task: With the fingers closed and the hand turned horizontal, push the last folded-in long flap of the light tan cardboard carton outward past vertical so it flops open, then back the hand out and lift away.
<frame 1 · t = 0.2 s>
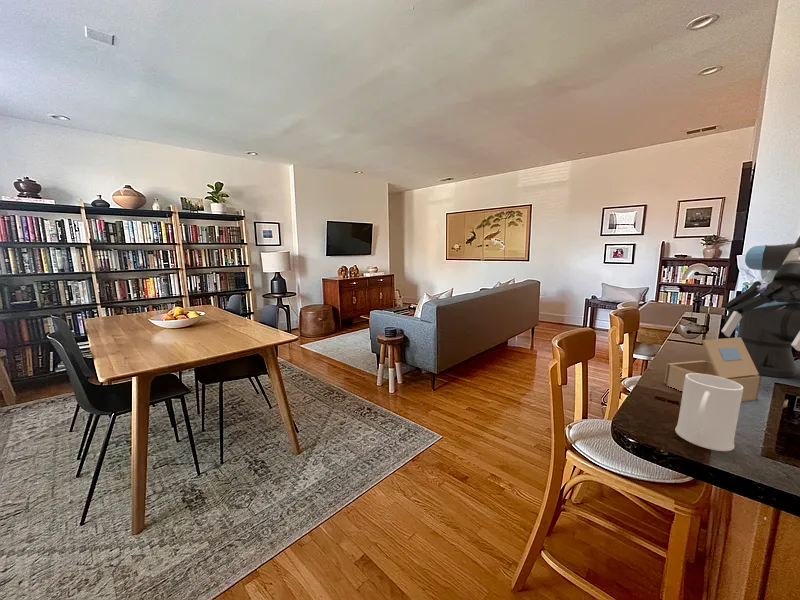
hand: (757, 340, 81), 15 cm above the counter, tool tilted 35°, fingers open, 13 cm apart
flap: (730, 357, 81), point 11 cm above the counter, hinge at 30.0°
mug: (700, 441, 63), on the counter
carton: (708, 391, 85), on the counter
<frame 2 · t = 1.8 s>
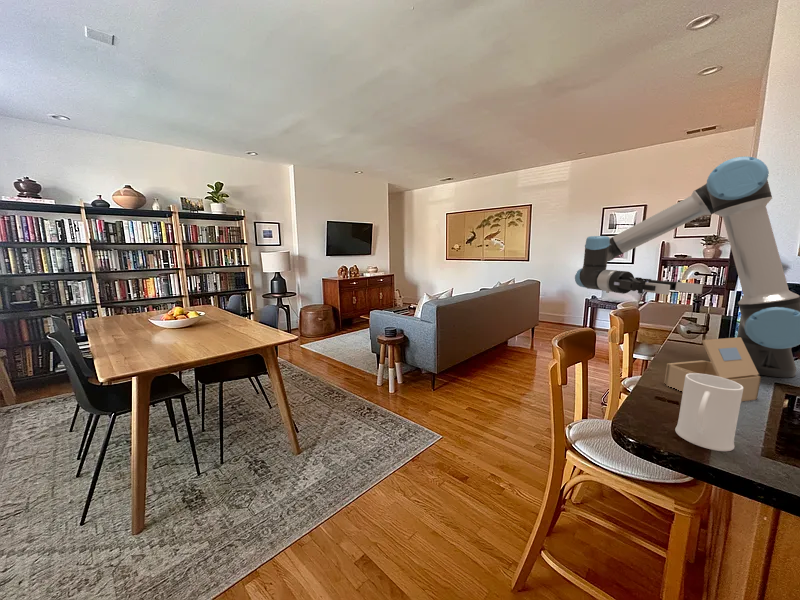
hand: (685, 289, 90), 26 cm above the counter, tool horizontal, fingers open, 11 cm apart
nothing on the counter moved.
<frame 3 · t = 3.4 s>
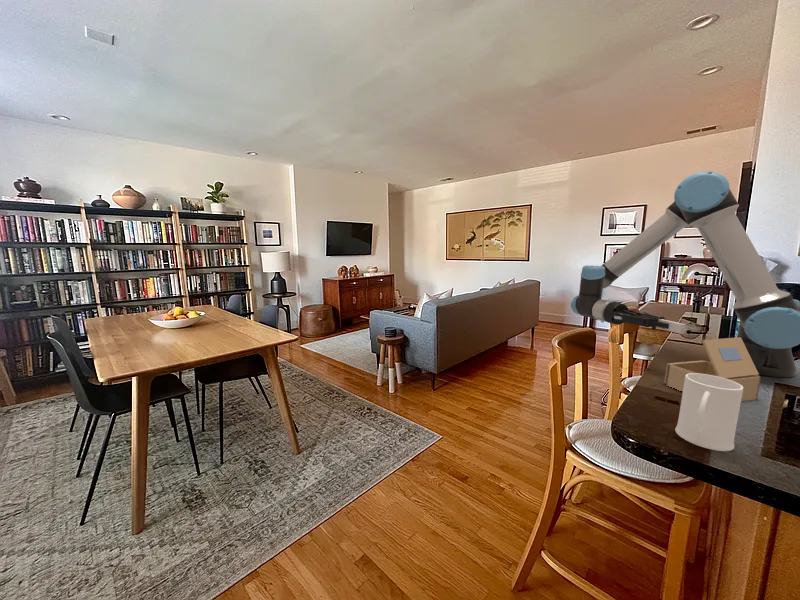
hand: (683, 329, 91), 15 cm above the counter, tool horizontal, fingers closed
nothing on the counter moved.
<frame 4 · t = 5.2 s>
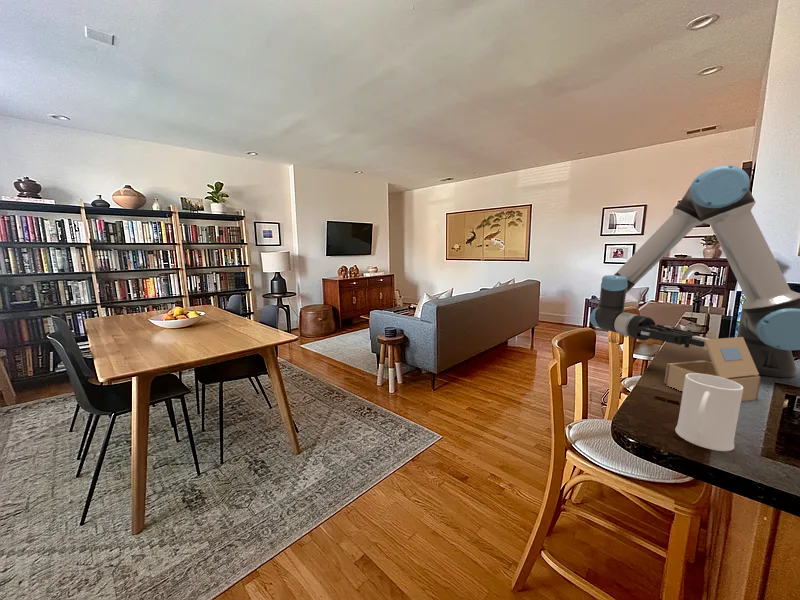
hand: (721, 347, 82), 12 cm above the counter, tool horizontal, fingers closed
flap: (731, 357, 81), point 11 cm above the counter, hinge at 27.4°, touching gripper
everything else where it was.
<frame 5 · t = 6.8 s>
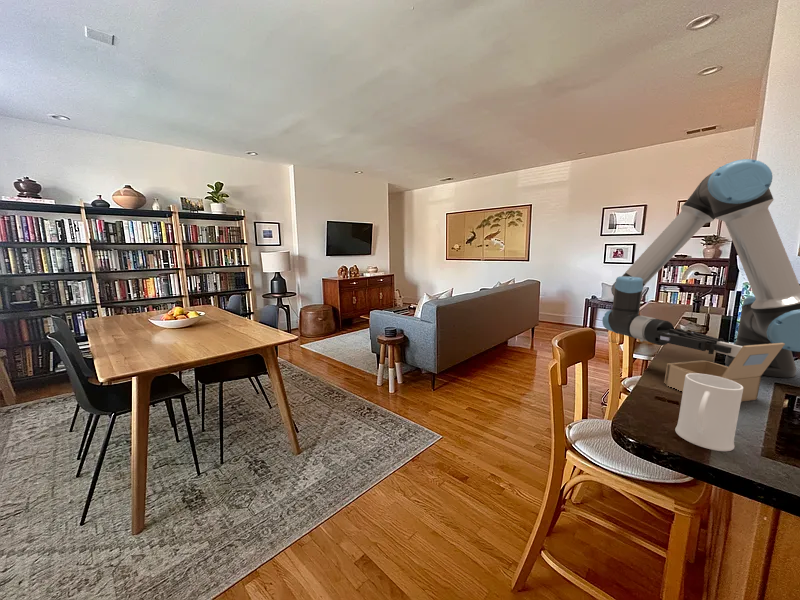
hand: (750, 354, 77), 13 cm above the counter, tool horizontal, fingers closed
flap: (752, 361, 77), point 11 cm above the counter, hinge at -18.7°, touching gripper
everything else where it was.
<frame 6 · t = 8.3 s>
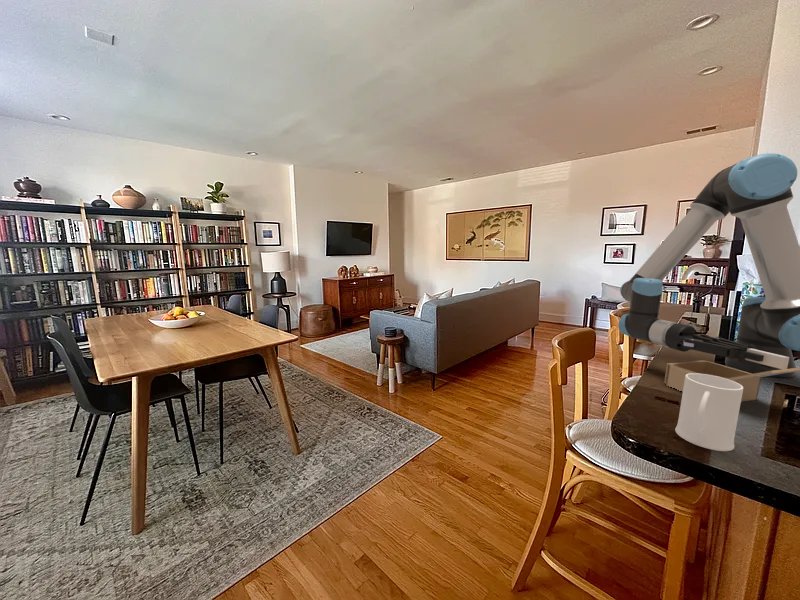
hand: (785, 363, 71), 12 cm above the counter, tool horizontal, fingers closed
flap: (766, 374, 74), point 9 cm above the counter, hinge at -56.8°, touching gripper
everything else where it was.
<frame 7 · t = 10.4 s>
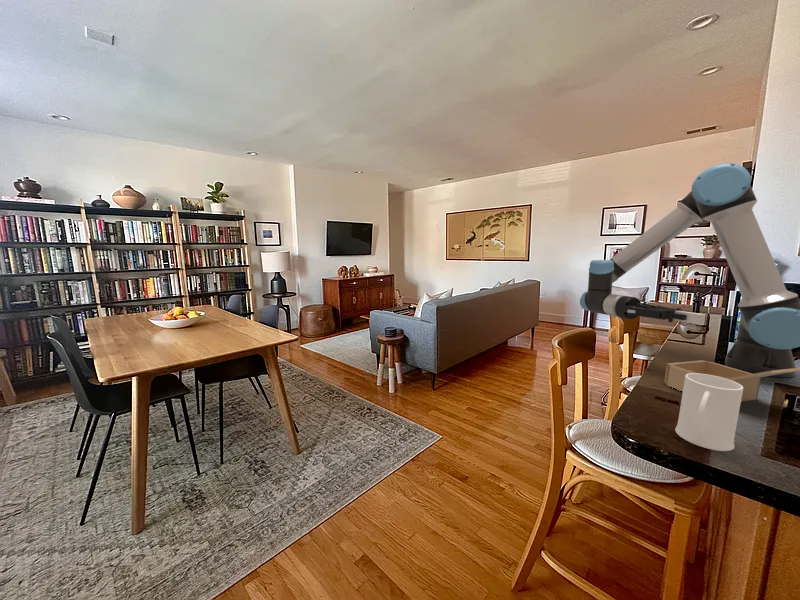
hand: (702, 319, 87), 19 cm above the counter, tool horizontal, fingers closed
flap: (766, 374, 74), point 9 cm above the counter, hinge at -56.9°
everything else where it was.
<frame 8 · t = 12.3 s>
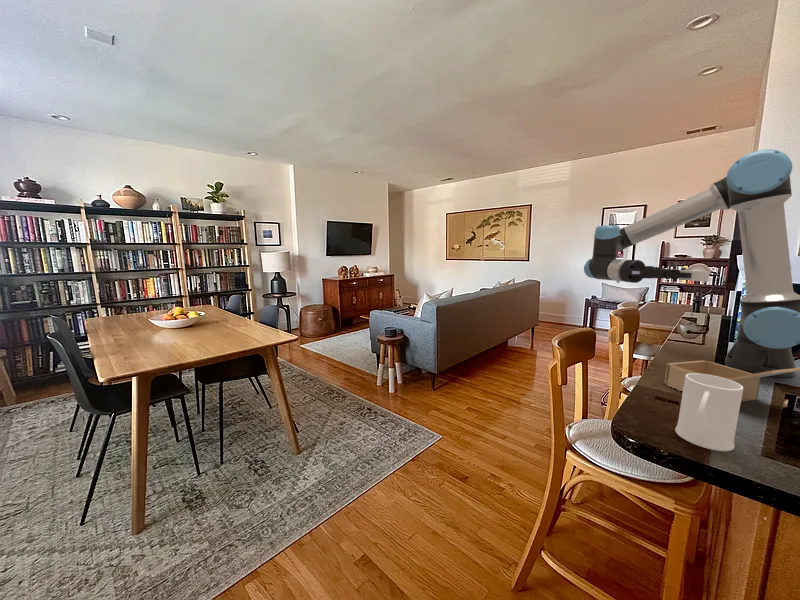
hand: (706, 276, 87), 30 cm above the counter, tool horizontal, fingers closed
nothing on the counter moved.
at the end: flap at -57° (first picture: +30°); the gripper is holding nothing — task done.
